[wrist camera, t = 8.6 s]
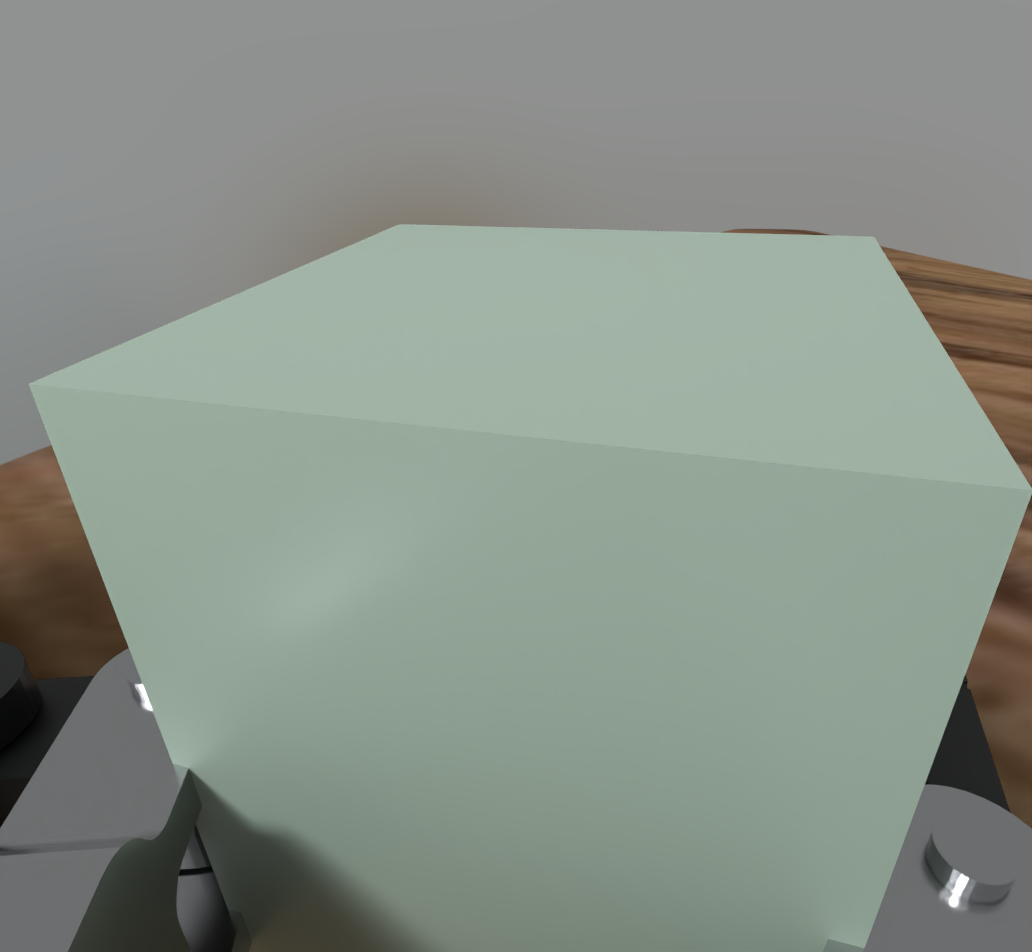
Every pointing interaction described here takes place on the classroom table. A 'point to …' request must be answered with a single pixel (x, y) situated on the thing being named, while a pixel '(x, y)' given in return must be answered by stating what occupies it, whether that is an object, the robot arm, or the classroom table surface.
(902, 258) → the classroom table surface
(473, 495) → the sage pillar
